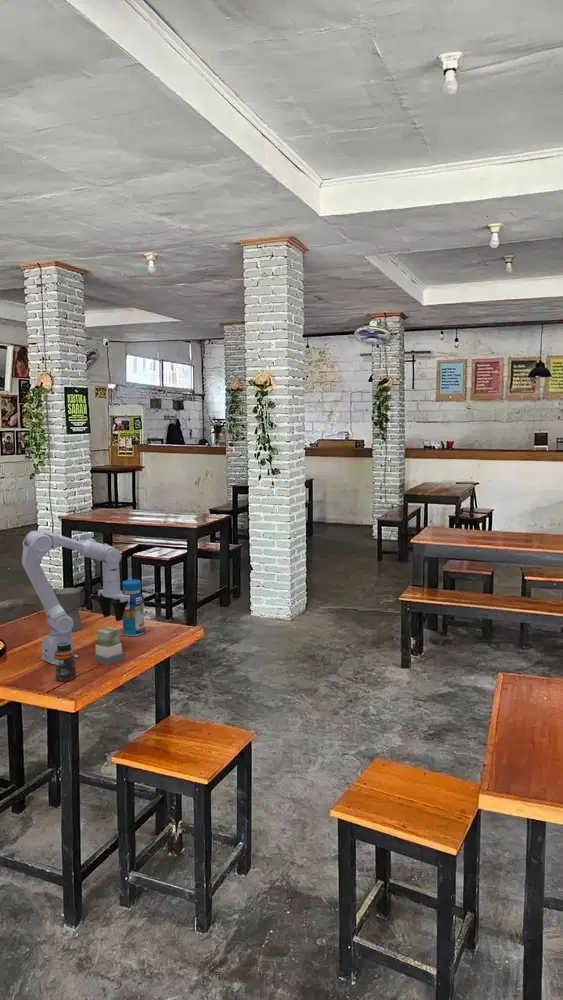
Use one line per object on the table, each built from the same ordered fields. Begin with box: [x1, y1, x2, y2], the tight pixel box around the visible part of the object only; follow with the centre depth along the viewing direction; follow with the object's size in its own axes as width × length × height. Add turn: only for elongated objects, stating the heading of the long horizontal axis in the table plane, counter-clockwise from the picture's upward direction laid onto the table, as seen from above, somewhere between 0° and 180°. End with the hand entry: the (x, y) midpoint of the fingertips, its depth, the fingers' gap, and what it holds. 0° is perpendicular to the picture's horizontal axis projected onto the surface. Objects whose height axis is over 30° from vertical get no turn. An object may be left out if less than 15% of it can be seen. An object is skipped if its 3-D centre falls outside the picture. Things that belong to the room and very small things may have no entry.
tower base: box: [94, 651, 126, 667], centre depth 234 cm, size 7×7×3 cm
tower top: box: [95, 642, 123, 657], centre depth 234 cm, size 6×6×3 cm
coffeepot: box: [54, 582, 91, 633], centre depth 270 cm, size 15×9×18 cm, turn 133°
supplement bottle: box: [54, 642, 77, 682], centre depth 218 cm, size 6×6×11 cm
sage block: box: [96, 626, 120, 648], centre depth 233 cm, size 5×5×5 cm
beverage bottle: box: [121, 579, 146, 637], centre depth 262 cm, size 8×8×20 cm
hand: (112, 618), depth 246 cm, fingers open, 7 cm apart
